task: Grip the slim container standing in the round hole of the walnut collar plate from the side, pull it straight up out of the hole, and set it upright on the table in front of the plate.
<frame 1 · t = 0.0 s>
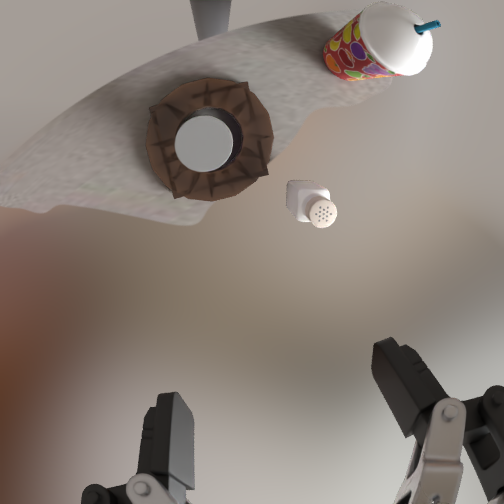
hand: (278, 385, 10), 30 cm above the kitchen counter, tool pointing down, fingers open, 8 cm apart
pepper shaker: (299, 193, 38), on the kitchen counter
collar: (209, 138, 34), on the kitchen counter
container: (209, 138, 34), resting in collar
smoothie: (341, 60, 31), on the kitchen counter
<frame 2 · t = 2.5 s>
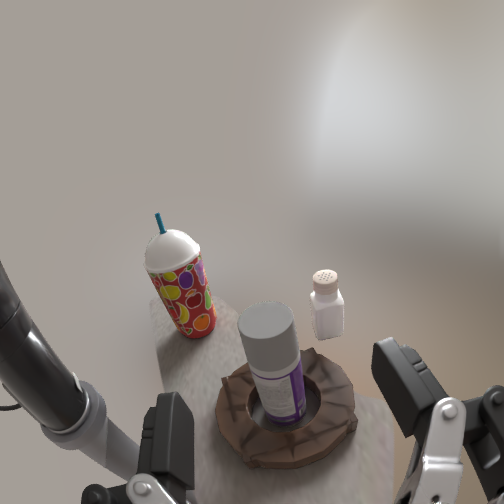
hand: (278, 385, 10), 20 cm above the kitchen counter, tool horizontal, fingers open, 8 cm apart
pepper shaker: (327, 331, 39), on the kitchen counter
collar: (286, 410, 29), on the kitchen counter
container: (286, 411, 29), resting in collar
smoothie: (199, 327, 45), on the kitchen counter
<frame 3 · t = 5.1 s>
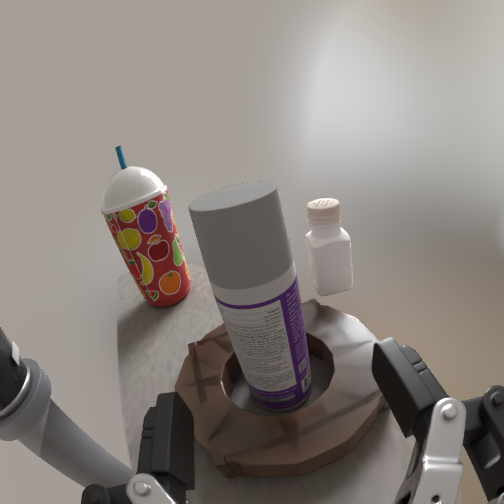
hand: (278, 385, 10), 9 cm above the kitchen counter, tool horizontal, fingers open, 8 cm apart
pepper shaker: (331, 286, 31), on the kitchen counter
collar: (282, 387, 20), on the kitchen counter
container: (282, 389, 20), resting in collar
smoothie: (170, 296, 36), on the kitchen counter
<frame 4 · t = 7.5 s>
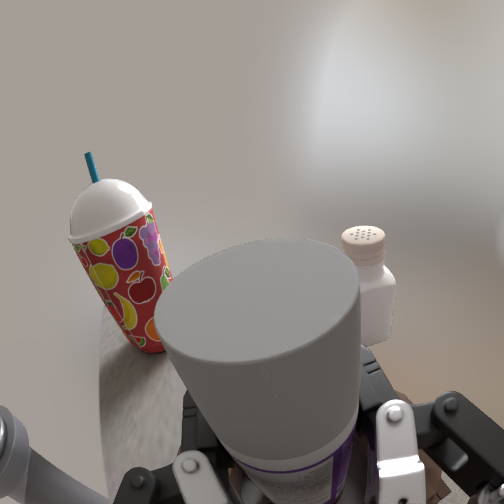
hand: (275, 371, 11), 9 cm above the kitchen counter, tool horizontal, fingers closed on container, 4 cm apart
pepper shaker: (363, 334, 23), on the kitchen counter
collar: (306, 483, 12), on the kitchen counter
container: (306, 484, 12), resting in collar, touching gripper
smoothie: (161, 337, 29), on the kitchen counter
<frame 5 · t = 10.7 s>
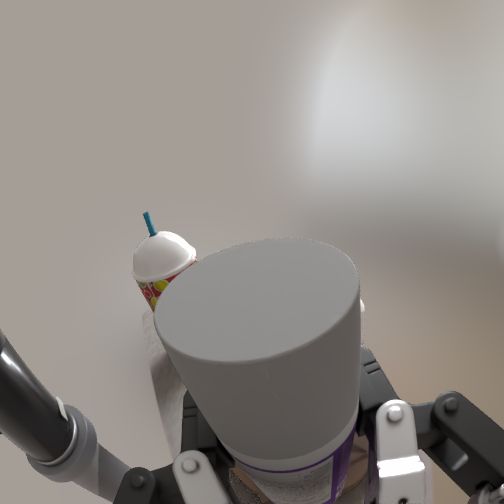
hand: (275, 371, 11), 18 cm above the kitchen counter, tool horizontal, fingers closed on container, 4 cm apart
collar: (305, 437, 23), on the kitchen counter
container: (306, 484, 12), point 9 cm above the kitchen counter, touching gripper
smoothie: (198, 343, 39), on the kitchen counter
when the fingers open (9 cm above the kitchen counter, at t = 14.2 s): container stays where it is, on the kitchen counter.
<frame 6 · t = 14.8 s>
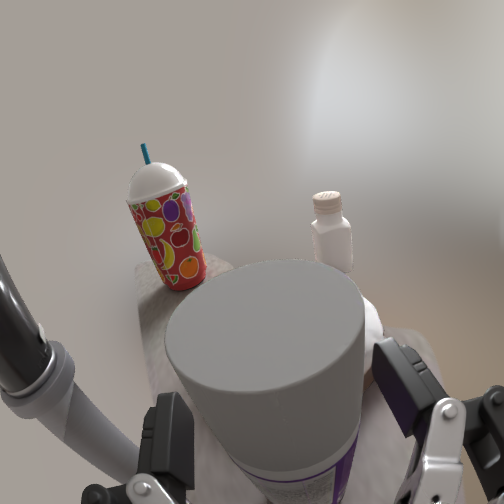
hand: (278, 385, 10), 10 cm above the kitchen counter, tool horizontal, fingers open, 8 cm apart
pepper shaker: (334, 270, 35), on the kitchen counter
collar: (294, 351, 24), on the kitchen counter
container: (308, 488, 12), on the kitchen counter
smoothie: (187, 281, 40), on the kitchen counter
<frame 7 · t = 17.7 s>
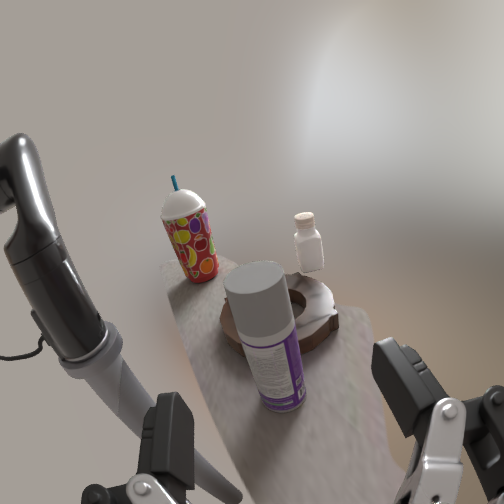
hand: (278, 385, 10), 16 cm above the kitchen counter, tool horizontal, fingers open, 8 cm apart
pepper shaker: (311, 267, 49), on the kitchen counter
collar: (279, 319, 38), on the kitchen counter
container: (284, 395, 27), on the kitchen counter
smoothie: (204, 276, 55), on the kitchen counter
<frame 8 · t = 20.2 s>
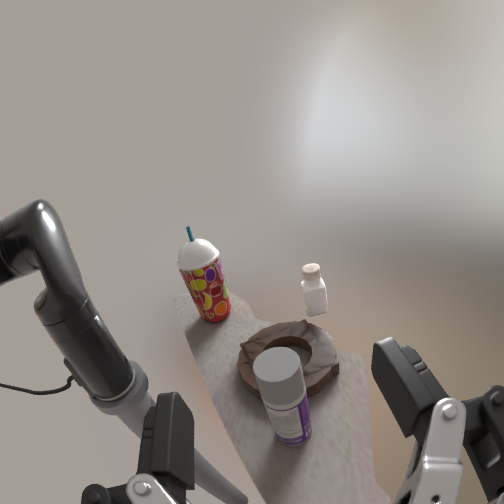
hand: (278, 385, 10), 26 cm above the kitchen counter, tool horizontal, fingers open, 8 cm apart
pepper shaker: (316, 310, 53), on the kitchen counter
collar: (288, 364, 43), on the kitchen counter
container: (294, 432, 31), on the kitchen counter
smoothie: (217, 314, 59), on the kitchen counter
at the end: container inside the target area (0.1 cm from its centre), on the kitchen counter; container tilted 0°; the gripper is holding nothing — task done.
